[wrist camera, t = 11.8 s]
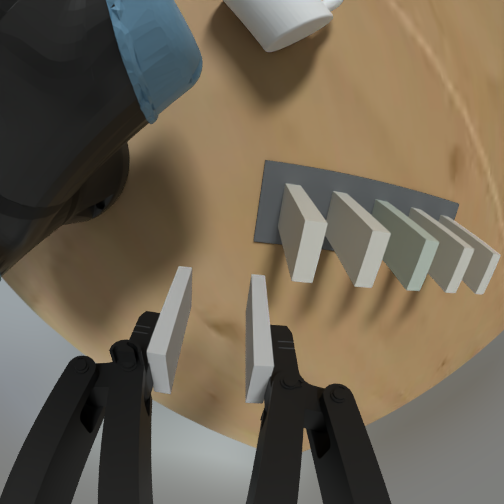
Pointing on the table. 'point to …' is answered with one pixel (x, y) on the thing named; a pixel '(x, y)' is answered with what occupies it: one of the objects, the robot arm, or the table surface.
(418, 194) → the strip
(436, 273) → the tile
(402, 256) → the tile
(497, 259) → the tile
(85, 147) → the robot arm
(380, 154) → the table surface
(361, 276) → the tile
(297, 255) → the tile
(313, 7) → the mug
